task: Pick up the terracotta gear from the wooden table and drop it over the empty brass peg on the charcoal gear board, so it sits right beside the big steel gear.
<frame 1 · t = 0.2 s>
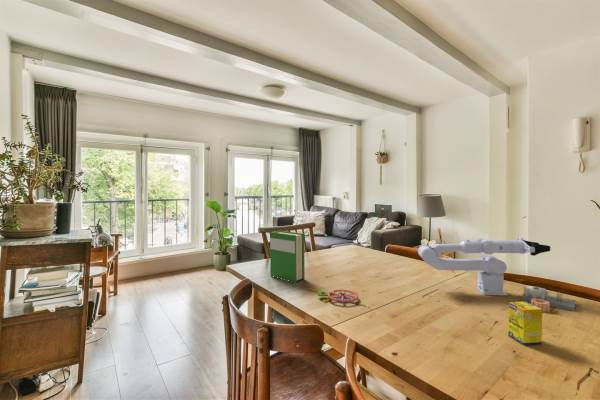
hand: (544, 246, 126), 21 cm above the table, fingers open, 7 cm apart
loose gear: (540, 308, 113), on the table
hardback book: (287, 278, 155), on the table
gear board: (548, 302, 120), on the table
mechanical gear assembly: (334, 299, 127), on the table
supplement box: (524, 340, 90), on the table
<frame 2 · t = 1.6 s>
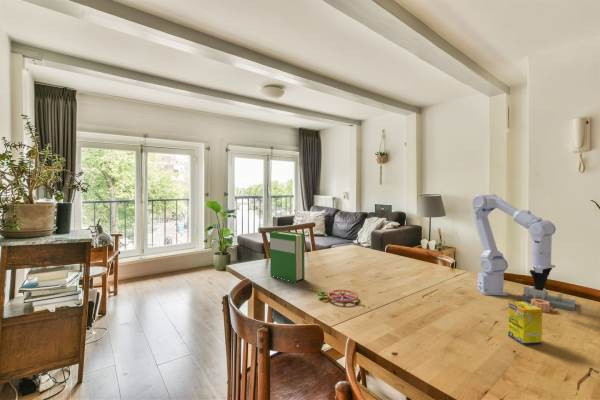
hand: (540, 287, 112), 8 cm above the table, fingers open, 7 cm apart
nothing on the table moved.
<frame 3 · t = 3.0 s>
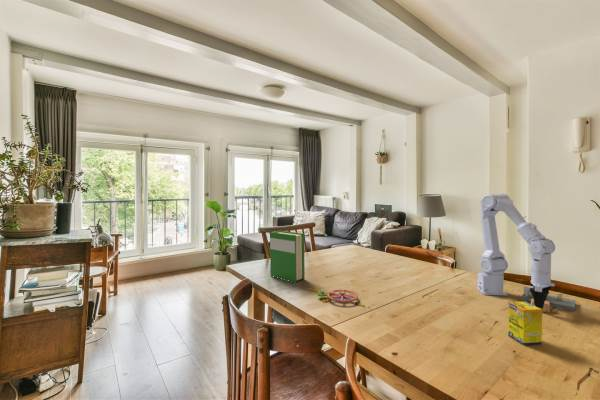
hand: (540, 305, 113), 1 cm above the table, fingers closed on loose gear, 6 cm apart
loose gear: (540, 308, 113), on the table, touching gripper
everything else where it was.
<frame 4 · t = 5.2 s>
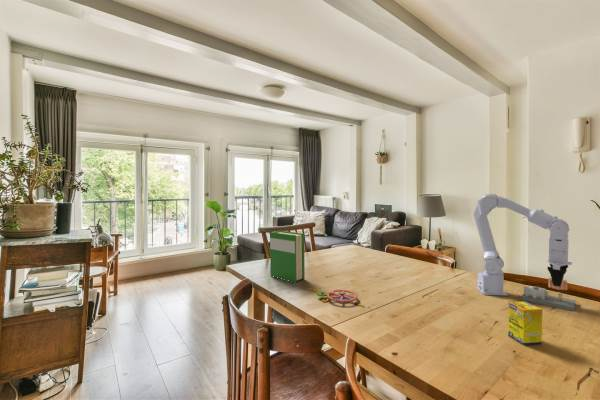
hand: (557, 284, 116), 8 cm above the table, fingers closed on loose gear, 6 cm apart
loose gear: (557, 287, 116), point 7 cm above the table, touching gripper
everything else where it was.
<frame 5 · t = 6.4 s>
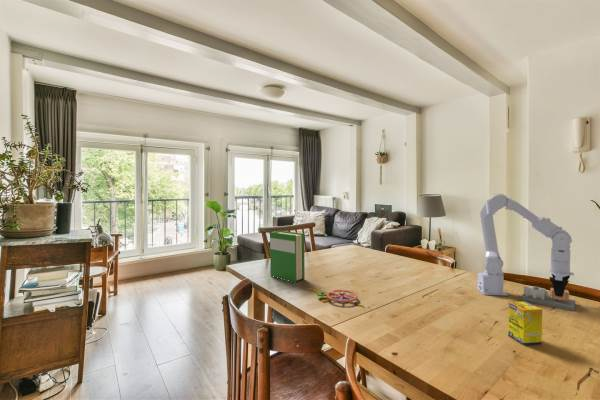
hand: (559, 294, 117), 4 cm above the table, fingers closed on loose gear, 6 cm apart
loose gear: (559, 297, 117), point 3 cm above the table, touching gripper
everything else where it was.
when the fingers open (4 cm above the table, at t = 7.4 s): loose gear drops 1 cm, resting on gear board.
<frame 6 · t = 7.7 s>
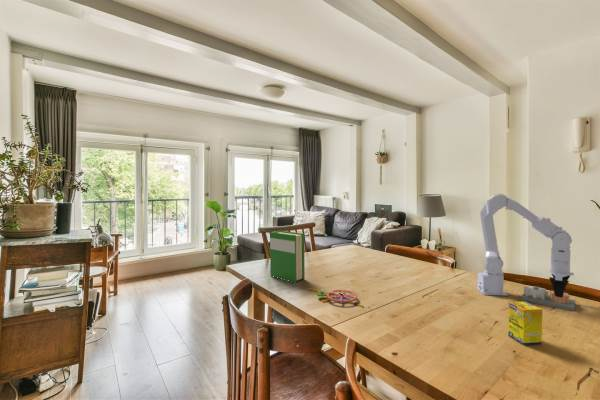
hand: (559, 294, 117), 4 cm above the table, fingers open, 7 cm apart
loose gear: (559, 300, 117), point 1 cm above the table, touching gear board
everything else where it was.
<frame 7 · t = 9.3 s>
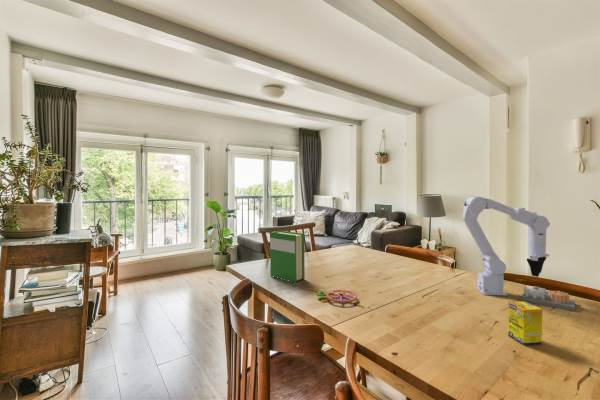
hand: (536, 274, 126), 9 cm above the table, fingers open, 7 cm apart
nothing on the table moved.
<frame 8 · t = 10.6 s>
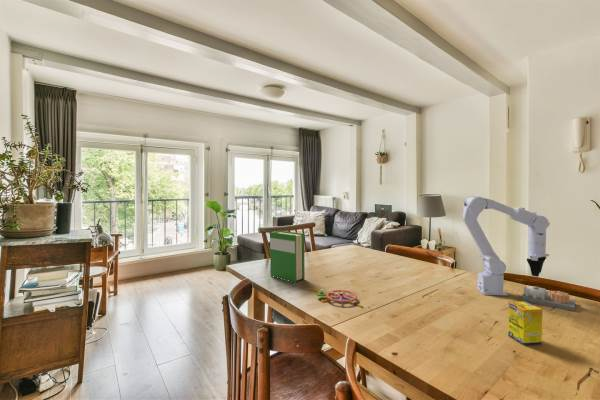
hand: (536, 274, 126), 9 cm above the table, fingers open, 7 cm apart
nothing on the table moved.
at the end: loose gear 0.0 cm from the target spot on the gear board, point 1.5 cm above the gear board's base; loose gear tilted 0°; the gripper is holding nothing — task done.
